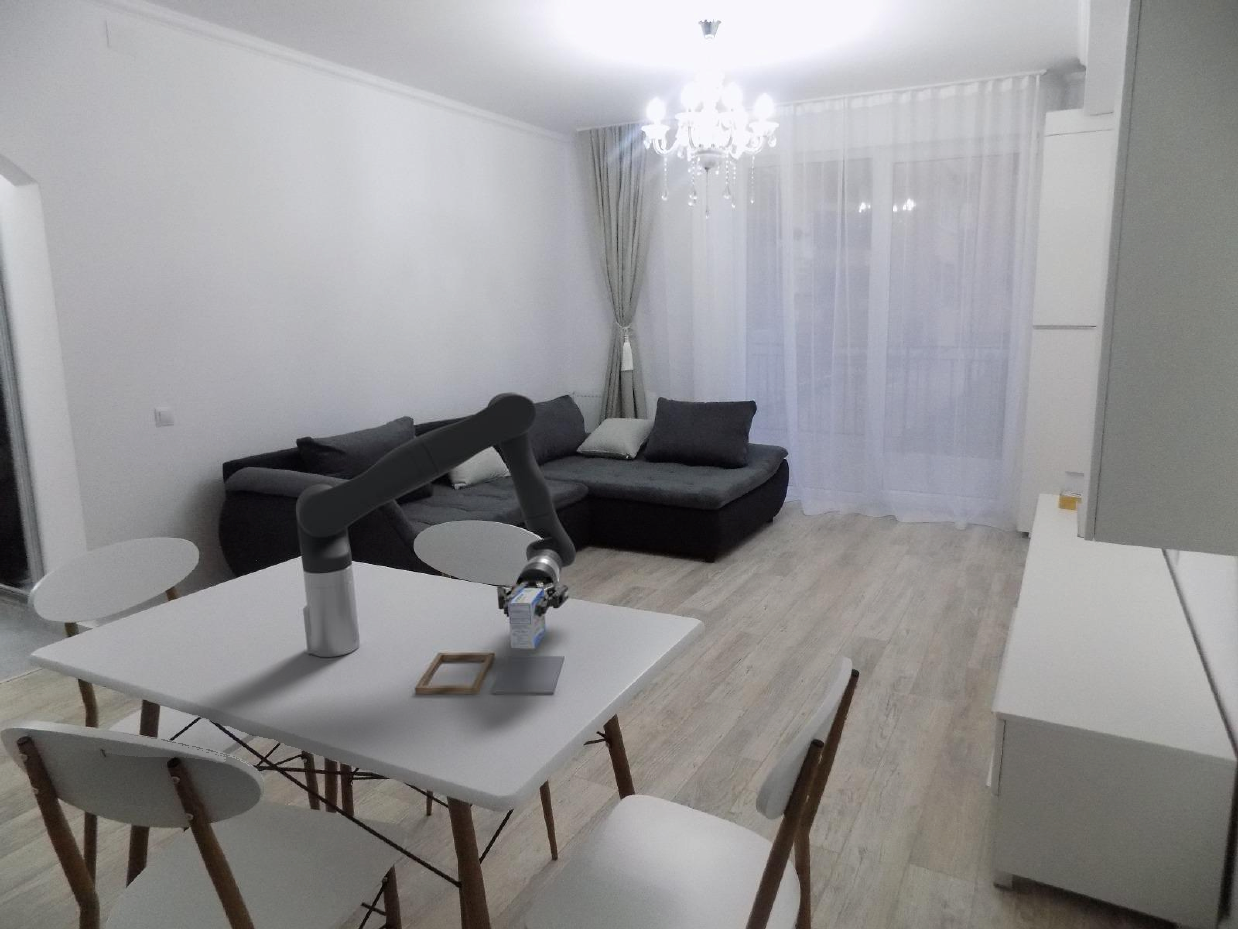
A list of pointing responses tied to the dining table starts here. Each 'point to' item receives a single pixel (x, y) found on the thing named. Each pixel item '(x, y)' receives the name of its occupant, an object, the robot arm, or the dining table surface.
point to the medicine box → (526, 619)
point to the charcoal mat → (529, 675)
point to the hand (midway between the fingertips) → (523, 611)
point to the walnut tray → (455, 689)
